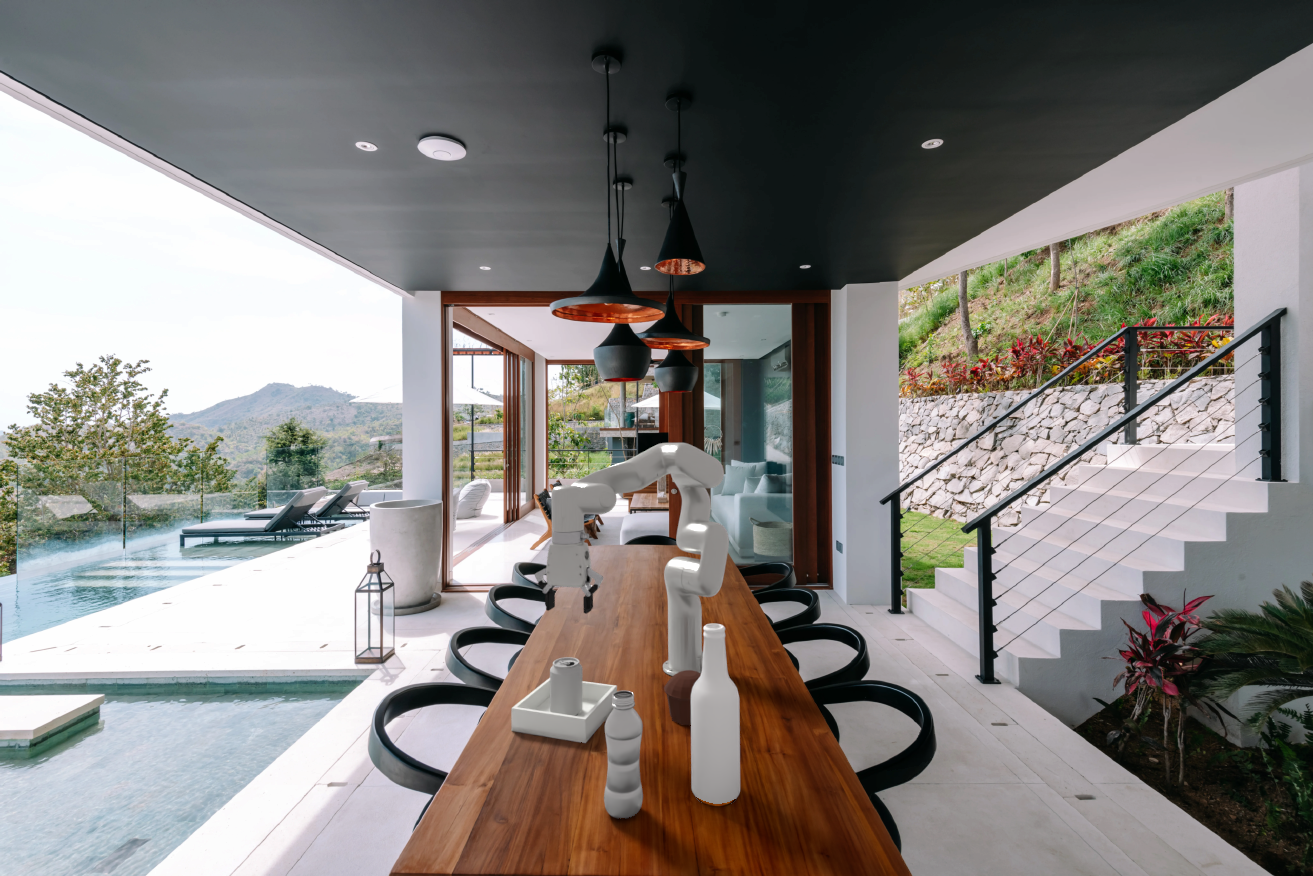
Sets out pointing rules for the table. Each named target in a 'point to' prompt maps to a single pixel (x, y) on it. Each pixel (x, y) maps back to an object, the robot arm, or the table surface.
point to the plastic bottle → (623, 757)
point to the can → (566, 686)
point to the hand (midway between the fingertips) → (568, 610)
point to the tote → (540, 721)
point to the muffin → (681, 695)
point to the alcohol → (715, 725)
